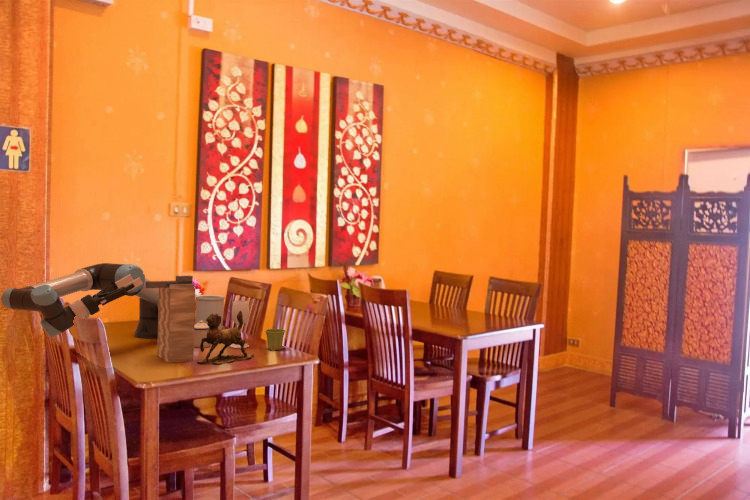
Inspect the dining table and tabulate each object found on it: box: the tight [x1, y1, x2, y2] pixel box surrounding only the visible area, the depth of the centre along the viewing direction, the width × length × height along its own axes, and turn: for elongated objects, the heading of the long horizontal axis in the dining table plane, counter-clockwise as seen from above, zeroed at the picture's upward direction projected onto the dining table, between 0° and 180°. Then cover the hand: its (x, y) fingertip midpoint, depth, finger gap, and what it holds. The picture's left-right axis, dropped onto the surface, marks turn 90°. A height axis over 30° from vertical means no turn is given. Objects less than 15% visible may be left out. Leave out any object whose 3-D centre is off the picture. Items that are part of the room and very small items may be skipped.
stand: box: [156, 283, 196, 364], centre depth 252 cm, size 16×10×32 cm, turn 36°
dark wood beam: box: [146, 275, 193, 288], centre depth 247 cm, size 3×18×4 cm, turn 126°
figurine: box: [196, 311, 255, 366], centre depth 252 cm, size 13×25×20 cm, turn 128°
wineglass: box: [229, 300, 251, 349], centre depth 280 cm, size 9×9×21 cm
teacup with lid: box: [194, 321, 211, 349], centre depth 279 cm, size 12×9×12 cm
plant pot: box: [264, 328, 286, 351], centre depth 278 cm, size 9×9×9 cm
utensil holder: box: [195, 294, 225, 330], centre depth 322 cm, size 15×15×18 cm
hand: (136, 278), depth 239 cm, fingers open, 13 cm apart
